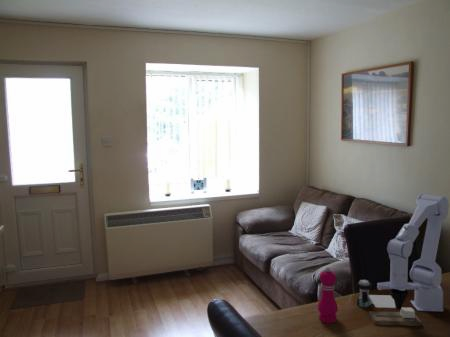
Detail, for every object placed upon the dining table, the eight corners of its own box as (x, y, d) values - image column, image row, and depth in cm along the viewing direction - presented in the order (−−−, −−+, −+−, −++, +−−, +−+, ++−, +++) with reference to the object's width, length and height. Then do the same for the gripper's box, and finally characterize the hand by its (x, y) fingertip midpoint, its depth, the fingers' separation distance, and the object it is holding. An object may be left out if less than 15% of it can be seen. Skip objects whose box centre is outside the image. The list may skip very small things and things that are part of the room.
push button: (368, 301, 154) (369, 277, 153) (377, 307, 149) (377, 282, 148) (354, 303, 153) (354, 279, 152) (362, 309, 147) (362, 284, 146)
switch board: (413, 316, 141) (413, 312, 141) (421, 325, 134) (421, 321, 134) (369, 315, 143) (369, 310, 143) (374, 324, 136) (374, 320, 136)
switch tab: (411, 314, 139) (411, 307, 139) (414, 318, 136) (414, 311, 136) (400, 313, 140) (400, 307, 139) (403, 317, 137) (403, 311, 136)
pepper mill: (338, 315, 143) (338, 264, 141) (337, 325, 136) (337, 271, 134) (318, 313, 145) (318, 262, 143) (316, 322, 139) (316, 269, 137)
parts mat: (390, 296, 158) (390, 295, 158) (399, 308, 147) (399, 307, 147) (368, 295, 159) (368, 294, 159) (375, 307, 148) (375, 307, 148)
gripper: (381, 276, 134) (380, 313, 135) (424, 277, 132) (423, 314, 133) (375, 269, 140) (375, 304, 142) (416, 269, 139) (415, 304, 140)
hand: (398, 308), depth 138 cm, fingers closed
